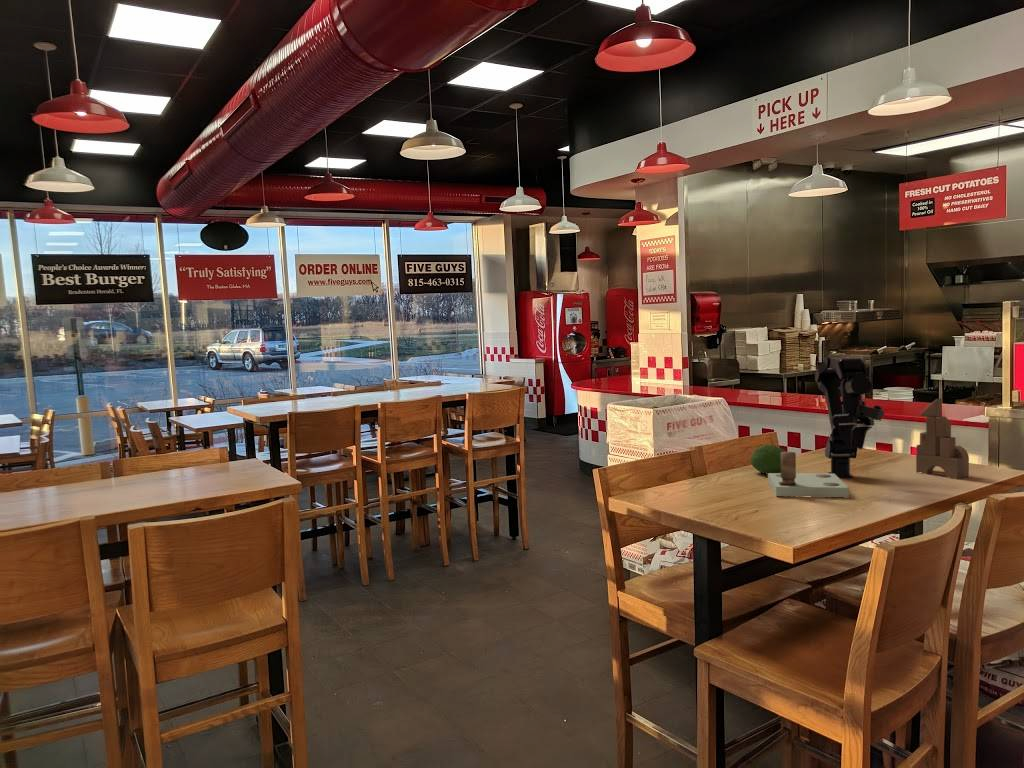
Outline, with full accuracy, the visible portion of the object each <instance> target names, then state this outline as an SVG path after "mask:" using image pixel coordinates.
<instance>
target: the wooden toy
mask: <svg viewBox="0 0 1024 768" xmlns="http://www.w3.org/2000/svg"><path fill="white" fill-rule="evenodd" d="M942 400H943V399H942V398H936V399H934V401H932V402H931V403H930V404H929V405H928V406H927V407H926V408H925V409H923V410H922V411H921V412H920V413H919V416H920V417H925V425H926V427H925V431H922V432H920V433H919V444H916V456H915V461H916V462H915V466H916V467H915V469H916V471H915V472H916V473H917V472H922V473H921V474H923V473H929V474H932V473H933V472H934V469H935V468H936V467H938V468H941V469H942V470H943V471H944V473H945V477H946V478H947V477H951V478H950V479H953V478H956V479H955V480H960V479H959V478H961V479H963V477H964V478H967V477H966V476H968V477H969V476H970V475H969V472H970V471H969V469H970V467H969V466H970V457H969V453H968V451H967V450H966V449H965V448H964V447H963V446H962V445H959V444H958V445H957V444H956V441H957V440H956V439H957V438H956V437H953V436H952V422H951V421H950V420H949V418H948V417H946V416H945V415H944V416H942V415H943V414H942V413H943V412H942V407H943V406H942V404H943V403H942ZM931 472H932V473H931Z"/></svg>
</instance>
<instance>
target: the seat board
mask: <svg viewBox="0 0 1024 768" xmlns="http://www.w3.org/2000/svg"><path fill="white" fill-rule="evenodd" d="M768 482H769V483H768ZM767 483H768V485H769V484H770V485H769V487H770V486H771V487H772V488H771V487H770V488H771V490H772V489H773V490H772V492H773V491H774V492H773V493H775V494H774V496H775V495H776V496H811V497H810V498H825V497H844V498H843V499H849V497H850V493H849V492H850V491H849V490H850V489H849V486H847V484H846V483H845V482H844V481H843V480H842V479H841V478H840V477H837V476H836V475H835V474H828V473H814V472H813V473H800V472H799V473H798V472H796V478H795V486H782V478H781V473H768V474H767ZM776 496H775V497H776Z"/></svg>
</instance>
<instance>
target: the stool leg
mask: <svg viewBox="0 0 1024 768" xmlns="http://www.w3.org/2000/svg"><path fill="white" fill-rule="evenodd" d="M796 459H797V456H796V452H794V451H785V452H781V478H782V486H795V478H796V473H797V467H796V466H797V463H796Z"/></svg>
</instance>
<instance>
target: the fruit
mask: <svg viewBox="0 0 1024 768" xmlns="http://www.w3.org/2000/svg"><path fill="white" fill-rule="evenodd" d="M781 452H786V450H784V449H782V448H781V447H780V446H777V445H775V444H764V445H760V446H759V447H757V448H755V450H754V451H753V452H752V453H751V456H750V463H751V465H752V467H753V468H754V469H755V470H757V472H759V473H762V474H764V473H781Z"/></svg>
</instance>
